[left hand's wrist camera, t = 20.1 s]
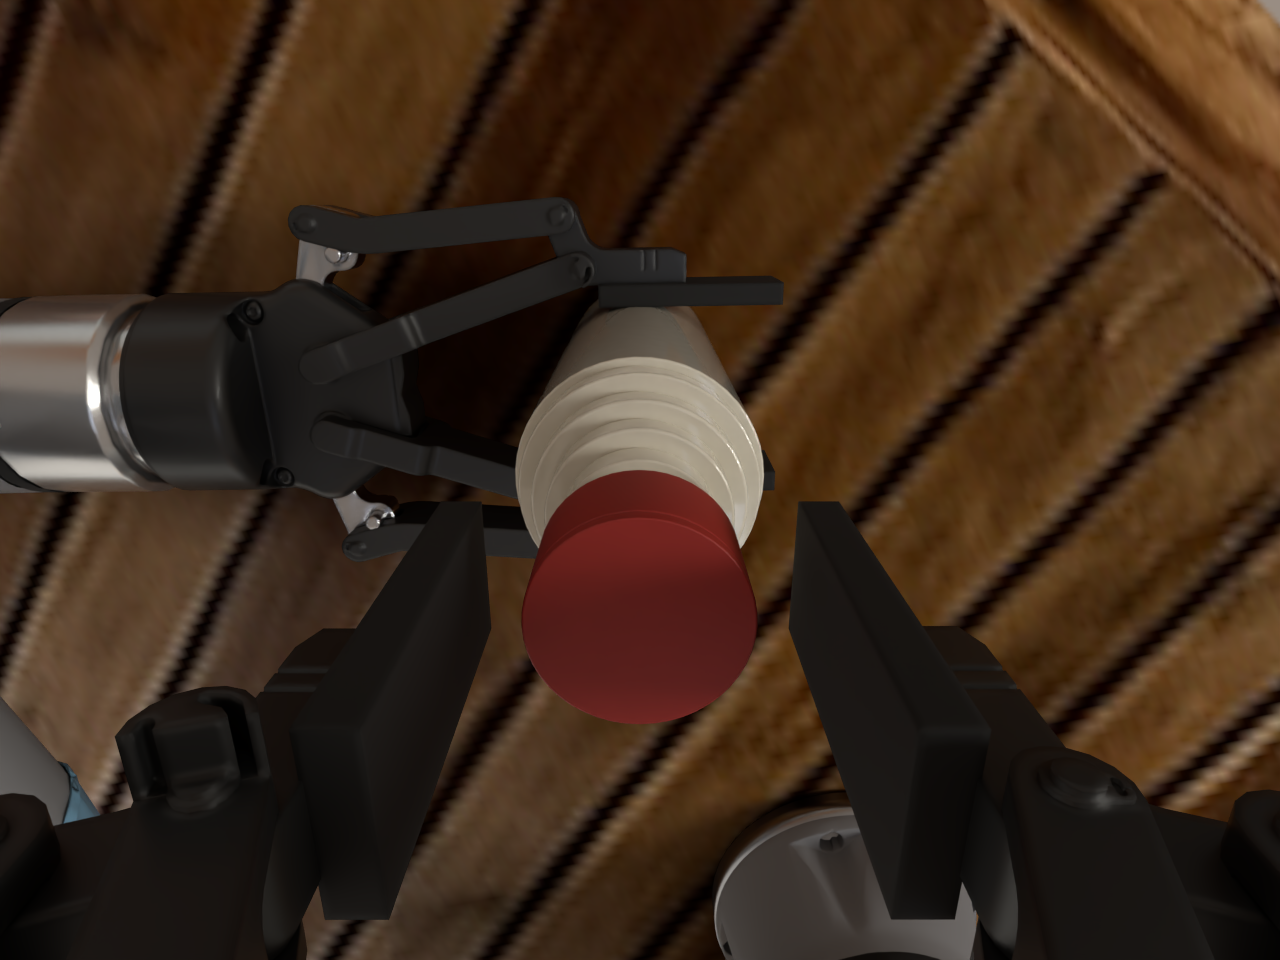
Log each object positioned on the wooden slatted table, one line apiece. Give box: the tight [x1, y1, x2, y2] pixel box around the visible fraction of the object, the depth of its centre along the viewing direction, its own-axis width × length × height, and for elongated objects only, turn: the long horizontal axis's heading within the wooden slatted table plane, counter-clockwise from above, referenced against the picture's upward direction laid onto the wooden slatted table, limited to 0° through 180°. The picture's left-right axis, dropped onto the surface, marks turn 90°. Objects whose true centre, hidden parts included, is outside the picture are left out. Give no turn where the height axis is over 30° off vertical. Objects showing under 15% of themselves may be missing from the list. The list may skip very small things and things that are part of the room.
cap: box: [522, 470, 757, 724], centre depth 14 cm, size 4×4×2 cm
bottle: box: [515, 299, 764, 548], centre depth 24 cm, size 6×6×24 cm
